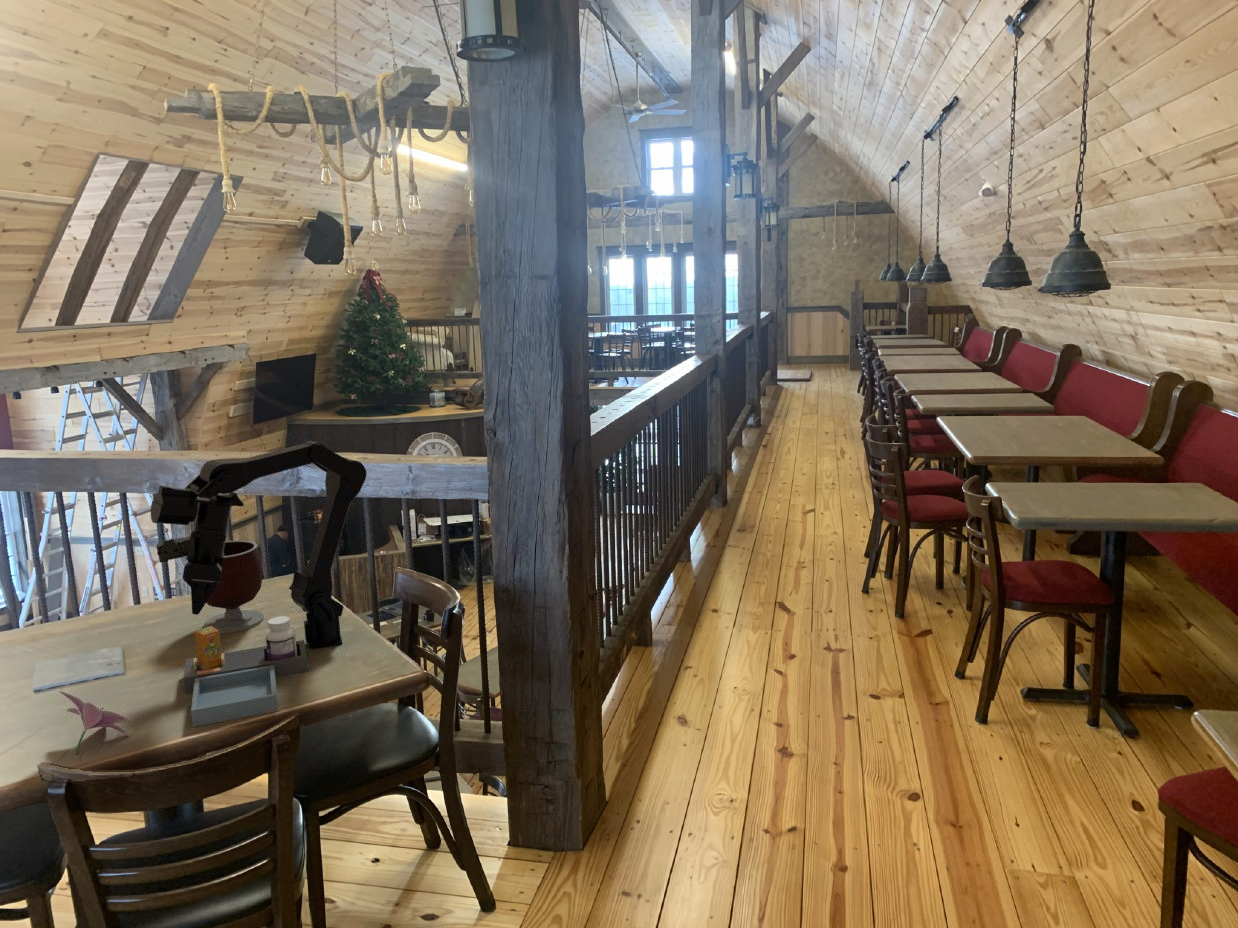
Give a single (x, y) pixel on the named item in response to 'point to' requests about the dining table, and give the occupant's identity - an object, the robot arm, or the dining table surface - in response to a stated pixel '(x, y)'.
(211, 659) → the supplement box
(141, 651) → the dining table surface
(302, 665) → the block
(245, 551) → the mate gourd
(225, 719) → the tray
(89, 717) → the lily
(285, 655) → the pill bottle
